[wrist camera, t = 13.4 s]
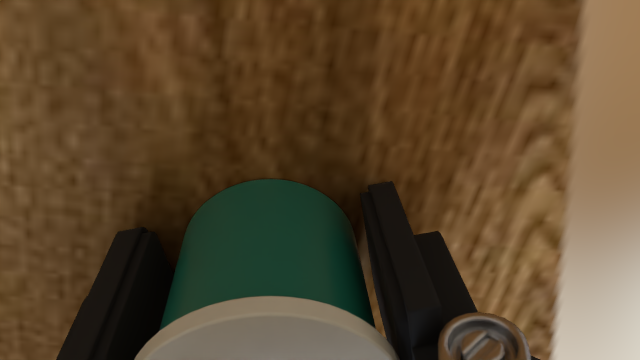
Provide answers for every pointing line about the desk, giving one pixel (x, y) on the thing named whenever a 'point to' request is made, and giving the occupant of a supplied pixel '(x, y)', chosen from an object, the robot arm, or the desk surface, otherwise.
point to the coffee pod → (268, 282)
